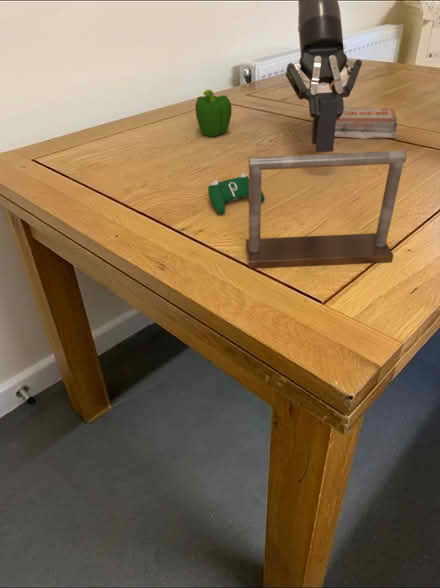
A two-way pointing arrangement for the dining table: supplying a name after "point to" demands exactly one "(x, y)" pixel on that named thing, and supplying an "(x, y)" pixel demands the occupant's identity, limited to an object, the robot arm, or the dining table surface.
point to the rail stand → (322, 247)
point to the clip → (325, 123)
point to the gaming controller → (229, 191)
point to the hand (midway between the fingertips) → (327, 117)
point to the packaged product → (367, 123)
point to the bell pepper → (213, 113)
